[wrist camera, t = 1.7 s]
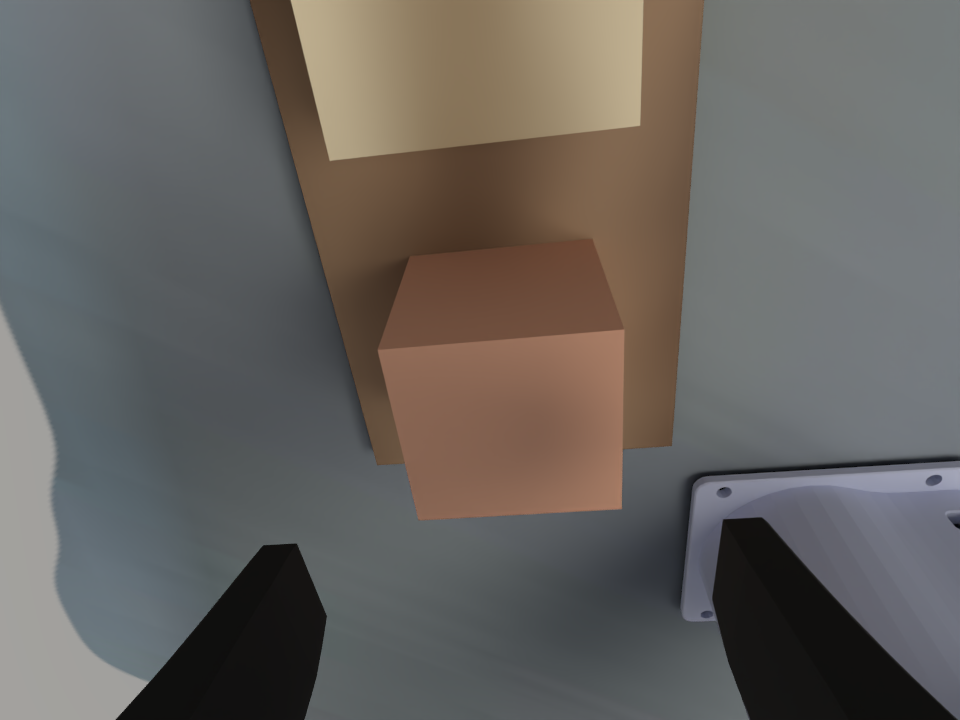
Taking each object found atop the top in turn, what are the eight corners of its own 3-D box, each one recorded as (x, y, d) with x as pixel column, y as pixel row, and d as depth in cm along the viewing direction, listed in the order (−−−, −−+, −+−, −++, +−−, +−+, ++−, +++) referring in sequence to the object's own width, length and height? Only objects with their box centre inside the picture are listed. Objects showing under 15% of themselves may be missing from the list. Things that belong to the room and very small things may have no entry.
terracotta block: (592, 238, 16) (624, 329, 12) (594, 390, 19) (621, 509, 14) (409, 256, 16) (377, 349, 12) (437, 401, 19) (418, 520, 15)
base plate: (715, -334, 11) (730, -355, 10) (666, 430, 20) (671, 446, 20) (198, -242, 12) (179, -255, 11) (381, 449, 21) (377, 465, 21)
